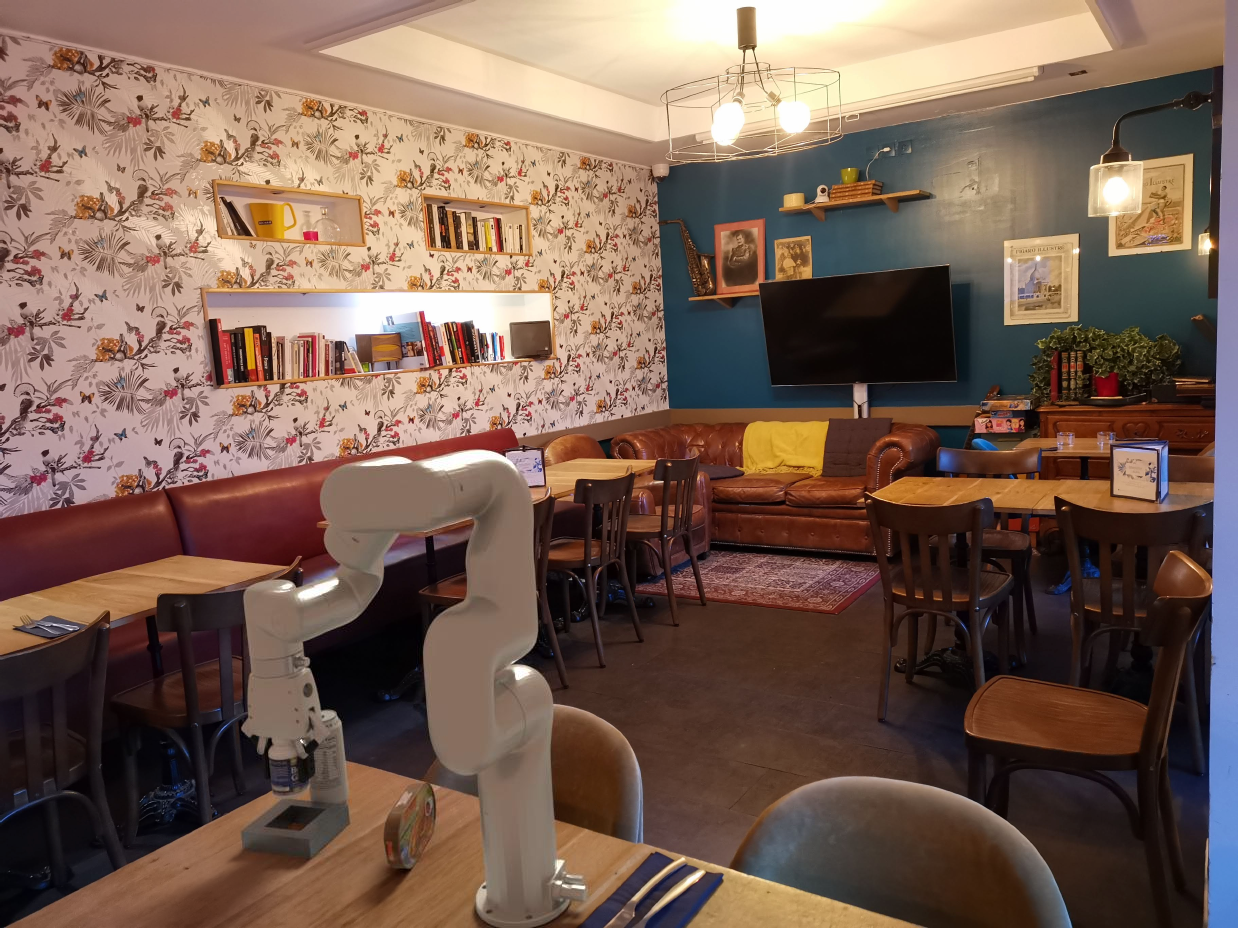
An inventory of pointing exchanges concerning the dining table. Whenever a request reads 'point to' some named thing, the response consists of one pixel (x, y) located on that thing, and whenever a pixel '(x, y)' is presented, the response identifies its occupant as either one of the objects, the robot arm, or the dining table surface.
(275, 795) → the pill bottle
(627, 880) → the dining table surface
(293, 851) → the socket block
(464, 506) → the robot arm
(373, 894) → the dining table surface
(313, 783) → the energy drink can
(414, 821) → the tin
